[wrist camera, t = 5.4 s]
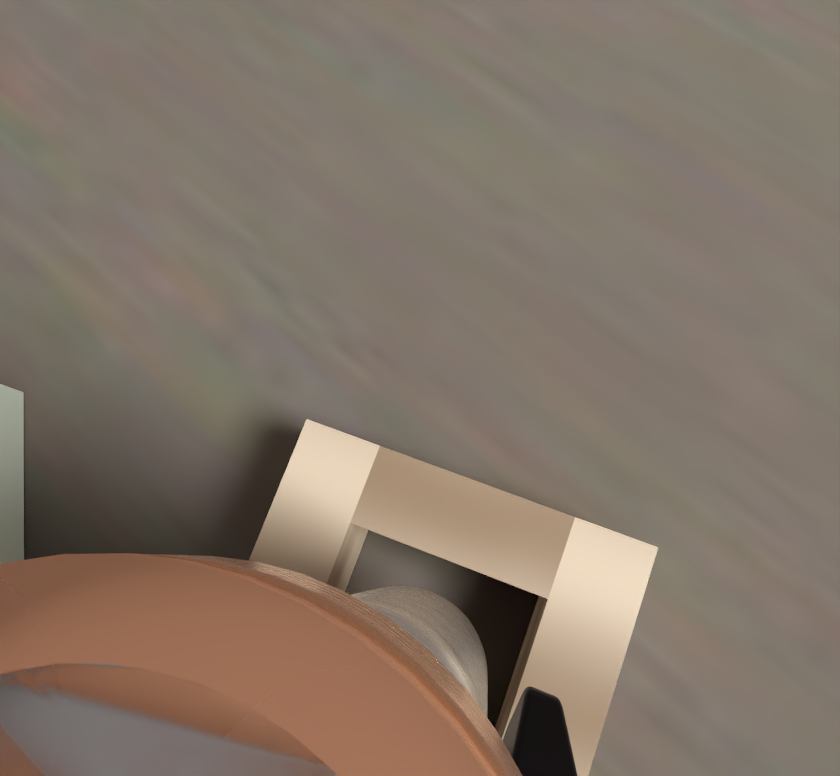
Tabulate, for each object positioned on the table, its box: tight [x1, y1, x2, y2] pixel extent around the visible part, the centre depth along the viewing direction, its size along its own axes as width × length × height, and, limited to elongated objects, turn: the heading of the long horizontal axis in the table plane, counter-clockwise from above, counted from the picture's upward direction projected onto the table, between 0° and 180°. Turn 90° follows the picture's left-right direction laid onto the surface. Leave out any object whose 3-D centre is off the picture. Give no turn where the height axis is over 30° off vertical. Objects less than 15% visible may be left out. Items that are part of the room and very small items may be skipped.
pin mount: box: [249, 419, 658, 776], centre depth 19 cm, size 9×9×3 cm
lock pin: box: [0, 553, 522, 776], centre depth 9 cm, size 5×5×13 cm
